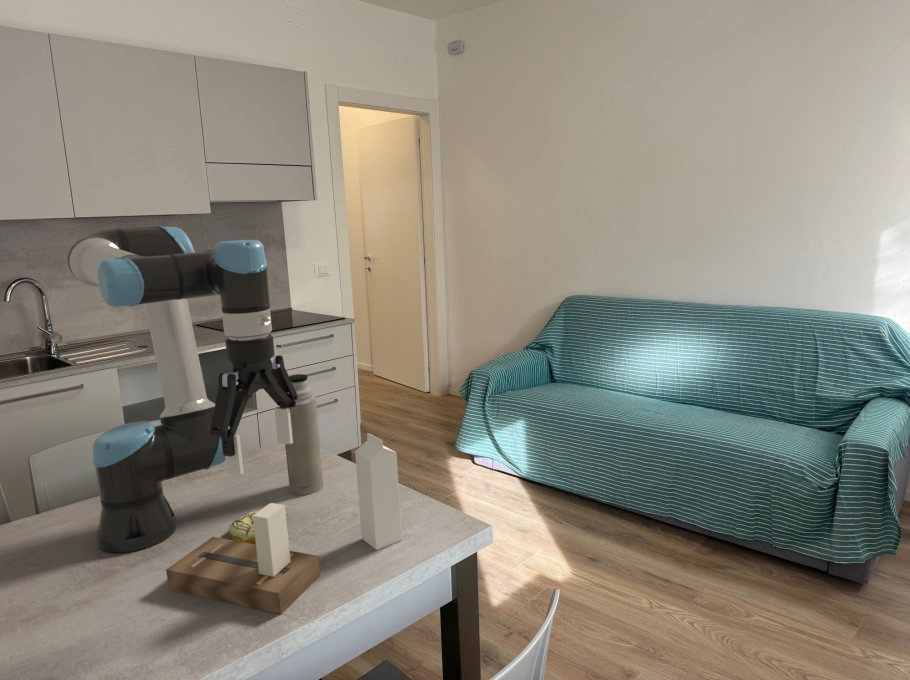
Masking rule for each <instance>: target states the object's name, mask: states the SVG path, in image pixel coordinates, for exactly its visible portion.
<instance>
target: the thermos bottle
mask: <svg viewBox="0 0 910 680" xmlns="http://www.w3.org/2000/svg"><path fill="white" fill-rule="evenodd" d="M289 378H290V380H291V382H292V384H293V386H294V388H295V391H296V393H297V395H298V399H297V400H296V406H295V407H291V418H292V422H291V427H292V437H293V443H292V444H284V445H285V455H286V465H287V475H288V484H289V485H288V486H289V492H290V493H292V494H294V495H300V496H303V495H304V496H305V495H310V494H313V493H314V494H315V493H318V492H319V491H320V490H322V489H323V487H324V478H323V477H324V475H323V467H322V459H321V443H320V433H319V432H320V431H319V422H318V420H319V419H318V410H317V408H318V407H317V398H316V397H315V396H314V395H313V394H314V392H313V389H312V387H310V386H308V385H309V384H308V381H307V380H308V375H307V374H303V373H297V374H292V375H289ZM288 393H289V392H288Z"/></svg>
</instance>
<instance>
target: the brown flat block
mask: <svg viewBox="0 0 910 680" xmlns="http://www.w3.org/2000/svg"><path fill="white" fill-rule="evenodd" d="M290 560H291V562H290V563H289V564H288V565H286V566H285V567H284V568H283V569H282V570H281V571H280V572H279V573H277V574H276V575H275V576H274V577H272V576H267V575H262V574H259V567H258V558H257V550H256V544H250V543H245V542H239V541H234V540H232V539H227V538H222V537H216V536H212V537H210V538H209V539H207V540H206V541H205V542H203V543H202V544H200V545H199V546H197V547H195V549H193V550H192V551H190V552H189V553H187V554H186V555H185V556H183V557H182V558H181V559H179V560H177V561H176V562H175V563H173V564H172V565H171V566H169V567H167V568H166V569H165V570H166V579H167V585H168V590H169V591H174V592H179V593H183V594H188V595H192V596H197V597H199V598H200V597H202V598H204V599H205V598H206V599H210V600H215V601H218V602H223V603H228V604H232V605H236V606H242V607H246V608H250V609H253V610H254V609H255V610H259V611H264V612H268V613H272V614H277V615H282V614H283V613H284V612H285V611H286V610H287V609H288V608H290V606H292V604H293V603H295V601H297V599H298V598H299V597H300V596H301V595H302V594H304V592H306V591H307V589H308V588H309V587H310V586H311V585H313V583H315V581H316V580H317V579H318V578H320V576H321V572H320V571H321V569H320V560H319V555H316V554H311V553H305V552H299V551H293V550H290Z"/></svg>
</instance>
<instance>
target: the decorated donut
mask: <svg viewBox="0 0 910 680" xmlns="http://www.w3.org/2000/svg"><path fill="white" fill-rule="evenodd" d="M261 509H262V508H261ZM261 509H256V510H251V511H249V512H246V513H244V514H241V515H240V516H238V517H237V518H236V519H234V520H233V522H232V523H231V524H230V526H229V528H228V532H229V535H230V538H231V539H230V540H234V541H239V542H245V543H250V544H256V541H255V532H254V523H253V515H254V514H256V513H257V512H259V511H260V510H261Z"/></svg>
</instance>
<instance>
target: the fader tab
mask: <svg viewBox="0 0 910 680" xmlns="http://www.w3.org/2000/svg"><path fill="white" fill-rule="evenodd" d="M259 510H260V509H259ZM253 523H254V532H255V541H256V550H257V558H258V567H259V574H262V575H267V576H272V577H274V576H275V575H276V574H277V573H279V572H280V571H281V570H282V569H283V568H284V567H285V566H286V565H288V564H289V563H290V562H291V560H290V551H291V550H290V542H289V532H288V522H287V513H286V505H285V504H280V503H273V502H270V503H269V504H267V505H266V506H264V507H262V508H261V510H260V511H259V512H257V513H256V514H254V515H253Z"/></svg>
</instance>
